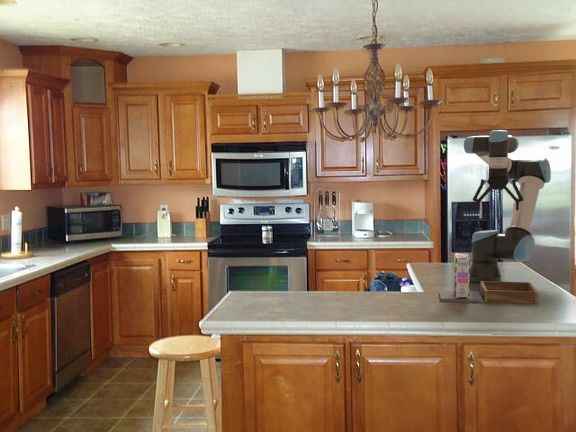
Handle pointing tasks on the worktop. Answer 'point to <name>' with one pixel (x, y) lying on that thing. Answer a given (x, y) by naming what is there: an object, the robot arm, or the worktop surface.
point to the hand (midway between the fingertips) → (497, 218)
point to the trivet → (450, 297)
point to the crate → (508, 292)
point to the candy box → (461, 275)
